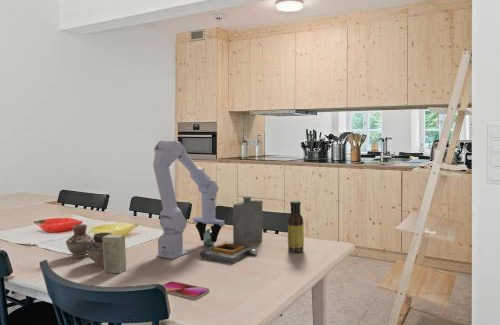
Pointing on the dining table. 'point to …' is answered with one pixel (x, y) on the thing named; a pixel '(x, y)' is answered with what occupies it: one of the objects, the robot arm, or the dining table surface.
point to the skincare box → (114, 253)
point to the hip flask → (247, 221)
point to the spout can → (207, 238)
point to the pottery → (86, 244)
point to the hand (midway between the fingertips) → (208, 241)
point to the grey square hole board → (228, 252)
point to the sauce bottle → (295, 228)
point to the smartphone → (185, 290)
